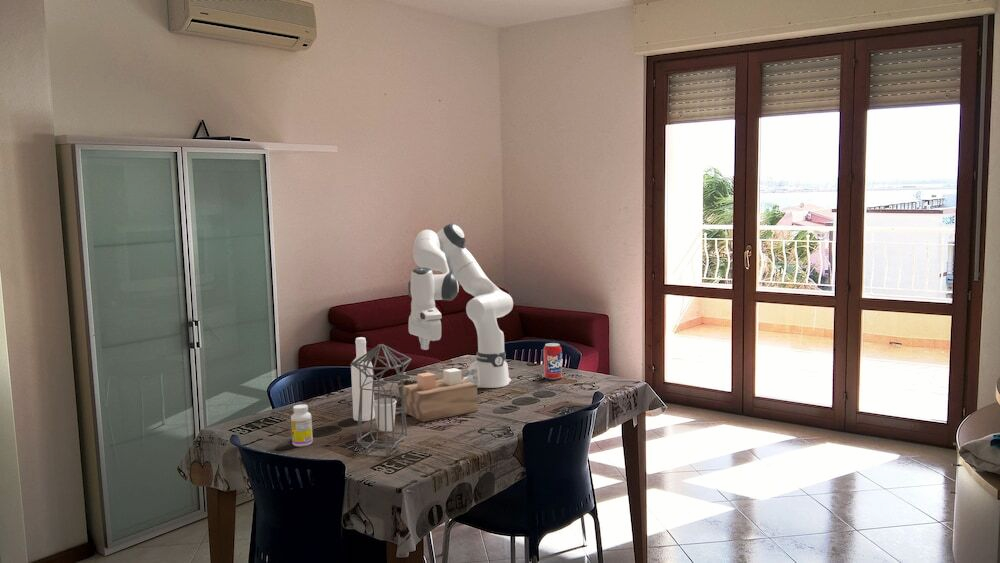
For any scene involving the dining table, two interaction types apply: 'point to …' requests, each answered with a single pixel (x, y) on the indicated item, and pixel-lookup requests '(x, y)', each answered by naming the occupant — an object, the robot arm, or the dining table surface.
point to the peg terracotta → (426, 381)
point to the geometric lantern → (356, 364)
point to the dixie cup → (382, 413)
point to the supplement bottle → (301, 426)
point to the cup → (406, 384)
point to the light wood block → (440, 400)
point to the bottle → (356, 384)
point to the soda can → (552, 361)
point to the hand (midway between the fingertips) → (424, 349)
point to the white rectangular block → (452, 376)
